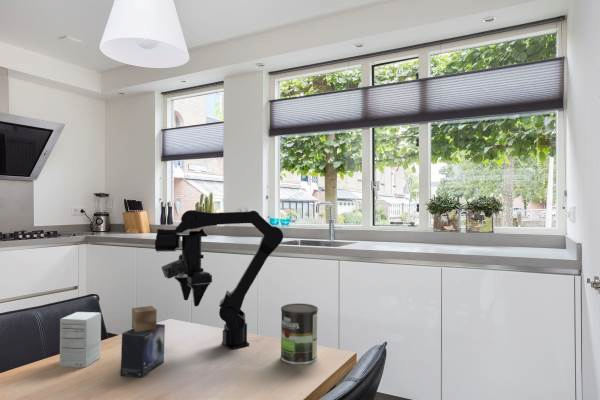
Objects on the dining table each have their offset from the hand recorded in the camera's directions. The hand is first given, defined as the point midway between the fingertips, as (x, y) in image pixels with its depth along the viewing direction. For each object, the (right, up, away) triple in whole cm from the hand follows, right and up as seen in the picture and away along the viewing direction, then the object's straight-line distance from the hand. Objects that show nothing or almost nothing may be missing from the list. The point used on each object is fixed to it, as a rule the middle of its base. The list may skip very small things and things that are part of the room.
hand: (190, 303), depth 123 cm
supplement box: (-26, -13, -13) cm, 32 cm away
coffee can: (+33, -13, -9) cm, 37 cm away
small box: (-8, -13, -18) cm, 23 cm away
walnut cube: (-8, -2, -17) cm, 19 cm away
